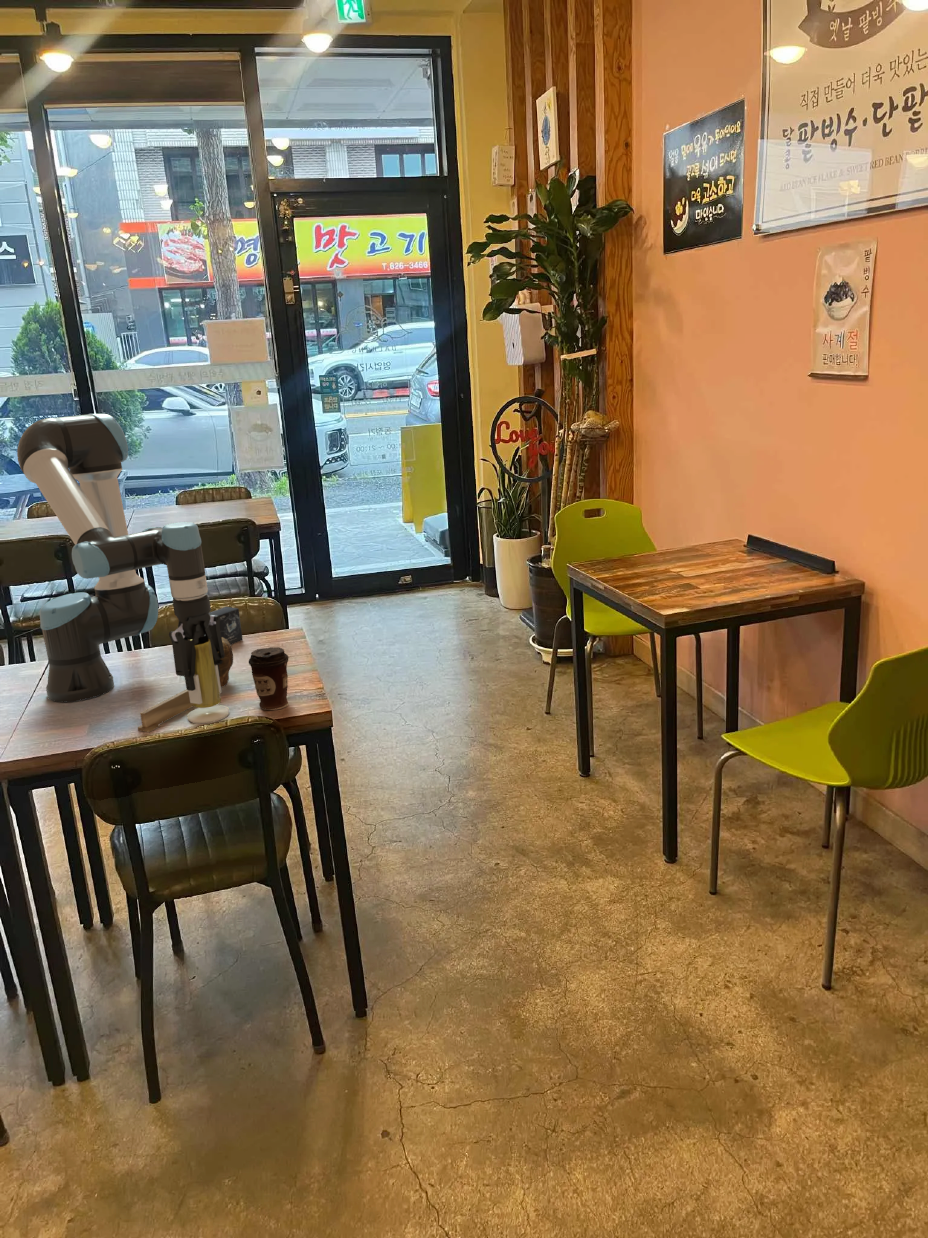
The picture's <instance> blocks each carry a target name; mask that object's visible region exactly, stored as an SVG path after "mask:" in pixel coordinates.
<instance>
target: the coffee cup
mask: <svg viewBox="0 0 928 1238" xmlns="http://www.w3.org/2000/svg"><path fill="white" fill-rule="evenodd" d="M248 659H249V660H248V664H249V666H250V668H251V676H252V679H253V683H254V687H255V690H256V691H255V692H256V695H257V696H258V698H259V704H258V705H259V708H260V709H262V710H266V711H267V710H268V711H276V710H281V709H284V708H287V707H288V706H289V700H288V698H287V697H288V688H289V685H288V684H289V683H288V682H289V680H288V669H287V668H288V667H287V666H288V662H289V659H290V657H289V655H288V654H287V653H285V649H284V648H282V647H278V646H277V647H272V646H271V647H266V648H257V649H255V650H253V651H252V652H251V653H250V657H249V658H248Z"/></svg>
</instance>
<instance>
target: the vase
mask: <svg viewBox="0 0 928 1238" xmlns="http://www.w3.org/2000/svg"><path fill="white" fill-rule="evenodd" d="M195 649H196V660H195V674H196V675H198V678H199V684H200V691H201V697H202V703H201V704H195V703H193V706H192V707H195V708H196V709H197V708H207V707H212V706H215V705H220V703H221V701H222V699H221V696H220V694H221V693H220V694H219V687H218V681H217V676H216V671H215V666H214V661H213V655H212V648H211V642H210V639H208V642H206V643H203V644H202V643H201V642H200V641H199V639H198V644H197V645H195Z"/></svg>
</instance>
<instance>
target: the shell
mask: <svg viewBox="0 0 928 1238" xmlns="http://www.w3.org/2000/svg"><path fill="white" fill-rule="evenodd" d="M222 643H223V648H224V654H225V657H224V658H223V659H222V658H221V660H223V662H222V664H219V669H220V677H219V678H220V685H221V688H223V687H225V686H226V685H227V684H228V683H229V680H230V676H229V673H230V670H231V667H232V666H233V663H234V653H233V647H232V644H231V645H230V643H229V641H228V640H226V639H225V638H223V637H222ZM218 653H219V652H218ZM188 670H189V669H188Z"/></svg>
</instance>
